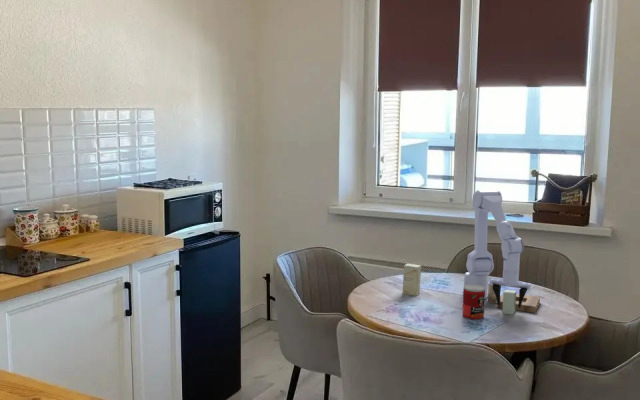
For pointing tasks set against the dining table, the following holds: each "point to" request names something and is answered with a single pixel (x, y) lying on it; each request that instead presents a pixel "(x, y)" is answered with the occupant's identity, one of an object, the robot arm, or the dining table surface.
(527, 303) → the socket block
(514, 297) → the square peg
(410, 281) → the skincare box
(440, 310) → the dining table surface
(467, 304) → the canned food
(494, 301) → the birch dowel
